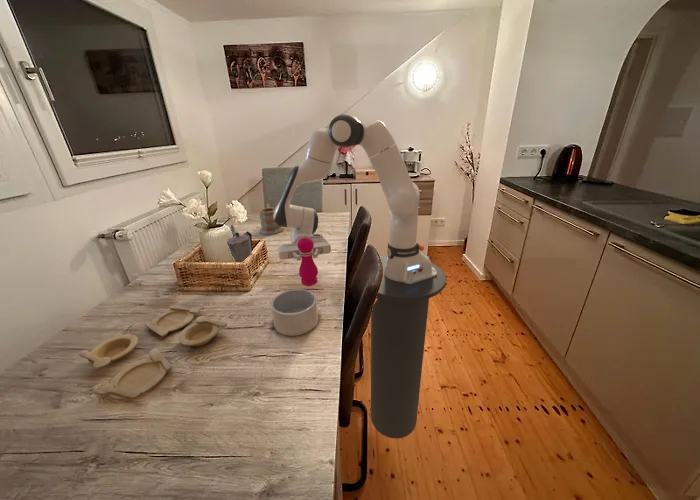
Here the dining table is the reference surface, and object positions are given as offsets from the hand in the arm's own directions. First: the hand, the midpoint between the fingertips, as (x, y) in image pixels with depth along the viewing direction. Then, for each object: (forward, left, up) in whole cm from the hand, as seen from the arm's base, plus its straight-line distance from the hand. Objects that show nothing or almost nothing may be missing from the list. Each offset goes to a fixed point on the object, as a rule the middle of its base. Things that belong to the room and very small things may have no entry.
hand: (307, 257), depth 104 cm
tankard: (+13, -84, -15) cm, 86 cm away
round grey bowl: (+7, +16, -15) cm, 23 cm away
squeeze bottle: (+30, -43, -15) cm, 55 cm away
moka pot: (+25, -25, -15) cm, 39 cm away
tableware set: (+48, +16, -15) cm, 53 cm away
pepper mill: (0, -1, -11) cm, 11 cm away
